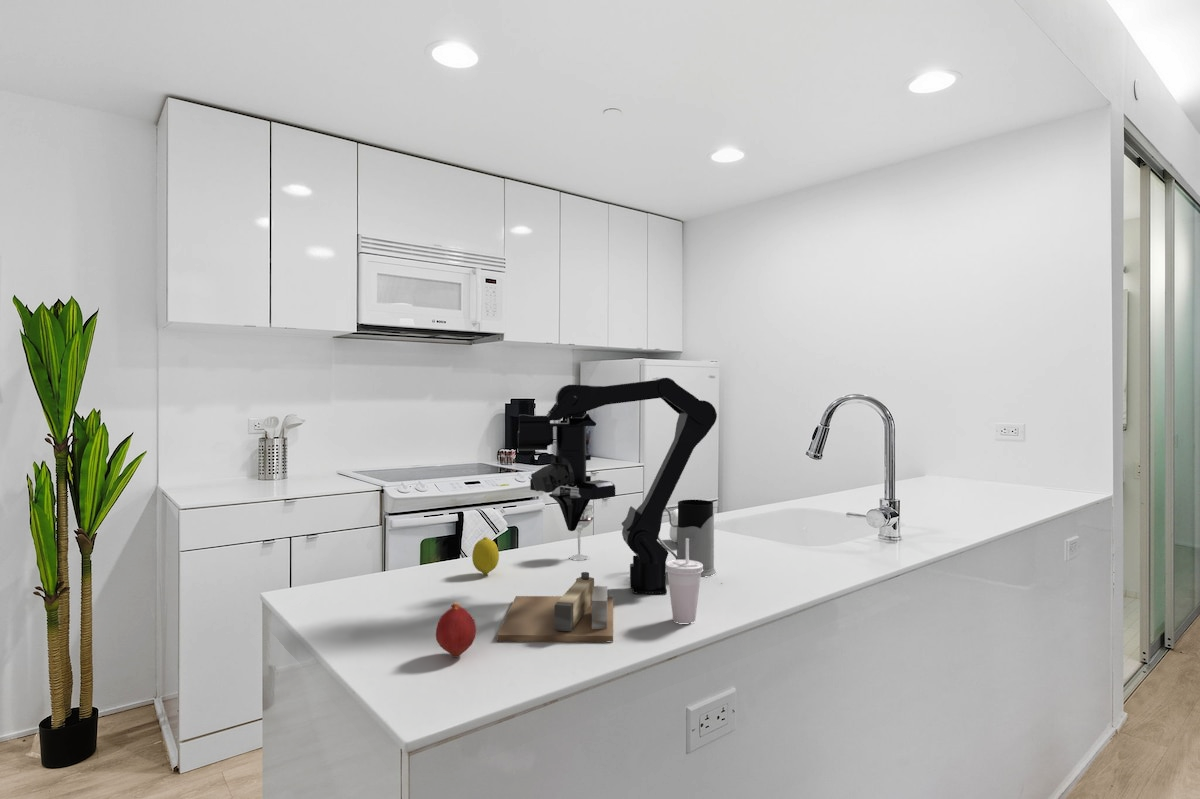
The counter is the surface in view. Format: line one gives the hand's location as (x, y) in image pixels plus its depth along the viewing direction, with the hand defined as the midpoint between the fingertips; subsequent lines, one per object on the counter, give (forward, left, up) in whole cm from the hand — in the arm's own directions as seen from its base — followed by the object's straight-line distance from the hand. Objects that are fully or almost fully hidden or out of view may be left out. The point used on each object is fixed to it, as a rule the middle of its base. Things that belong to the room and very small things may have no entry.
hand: (571, 530), depth 131 cm
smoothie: (-20, +16, -12) cm, 28 cm away
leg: (-2, +16, -11) cm, 20 cm away
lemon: (+19, -12, -12) cm, 26 cm away
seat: (+1, +16, -12) cm, 20 cm away
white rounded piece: (-27, -42, -12) cm, 52 cm away
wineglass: (0, -27, -12) cm, 30 cm away
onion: (+15, +32, -12) cm, 37 cm away
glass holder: (-23, -16, -12) cm, 31 cm away
